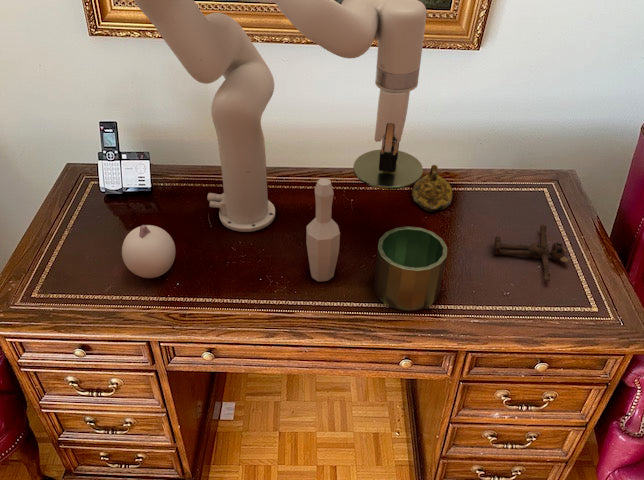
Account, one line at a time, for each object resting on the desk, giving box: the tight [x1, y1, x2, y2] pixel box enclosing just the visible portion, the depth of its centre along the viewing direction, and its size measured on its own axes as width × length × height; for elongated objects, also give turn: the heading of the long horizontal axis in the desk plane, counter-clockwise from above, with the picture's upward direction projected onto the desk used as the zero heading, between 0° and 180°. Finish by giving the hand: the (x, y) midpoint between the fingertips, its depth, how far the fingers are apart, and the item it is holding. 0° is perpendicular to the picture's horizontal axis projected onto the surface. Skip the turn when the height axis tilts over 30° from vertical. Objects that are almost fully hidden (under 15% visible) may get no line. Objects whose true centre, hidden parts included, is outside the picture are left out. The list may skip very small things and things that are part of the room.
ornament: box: [121, 224, 176, 279], centre depth 125 cm, size 10×10×12 cm
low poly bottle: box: [305, 177, 341, 282], centre depth 120 cm, size 6×6×22 cm
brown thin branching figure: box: [493, 224, 570, 283], centre depth 129 cm, size 18×4×14 cm
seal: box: [411, 164, 454, 213], centre depth 145 cm, size 9×5×15 cm
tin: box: [373, 225, 448, 312], centre depth 120 cm, size 13×13×10 cm
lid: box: [352, 143, 424, 190], centre depth 123 cm, size 14×14×7 cm
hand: (388, 164), depth 124 cm, fingers closed on lid, 3 cm apart
